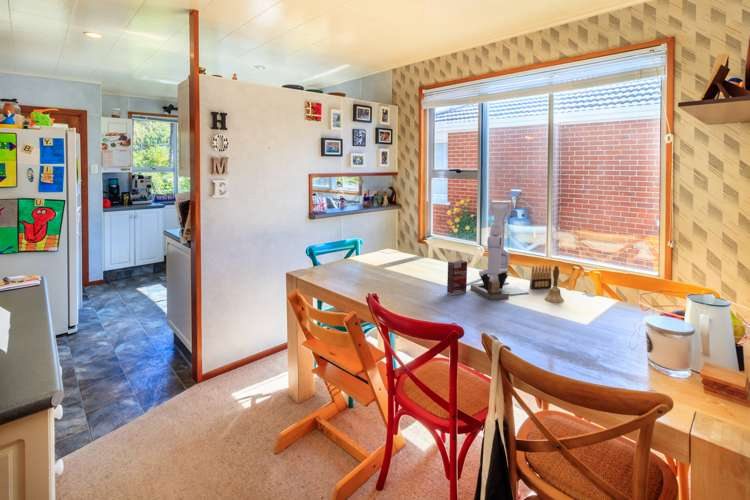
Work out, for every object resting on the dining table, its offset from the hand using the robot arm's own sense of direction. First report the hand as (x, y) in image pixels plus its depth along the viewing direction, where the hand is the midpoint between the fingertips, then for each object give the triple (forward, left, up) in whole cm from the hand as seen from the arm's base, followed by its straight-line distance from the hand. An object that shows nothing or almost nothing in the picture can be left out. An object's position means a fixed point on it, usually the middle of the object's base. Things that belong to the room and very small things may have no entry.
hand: (493, 289), depth 199 cm
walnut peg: (0, 0, -3) cm, 3 cm away
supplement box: (-10, -14, -4) cm, 18 cm away
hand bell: (+14, +23, -4) cm, 27 cm away
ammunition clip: (-4, +29, -4) cm, 29 cm away
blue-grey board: (-3, +13, -3) cm, 14 cm away
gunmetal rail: (-4, 0, -3) cm, 5 cm away
